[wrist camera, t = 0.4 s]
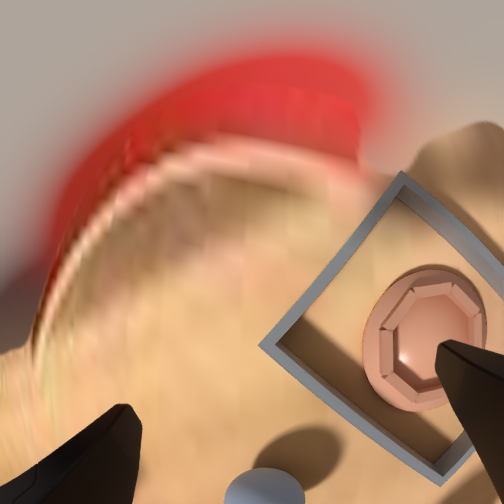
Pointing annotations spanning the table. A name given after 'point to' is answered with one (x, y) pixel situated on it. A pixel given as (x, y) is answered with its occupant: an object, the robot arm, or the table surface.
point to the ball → (265, 488)
